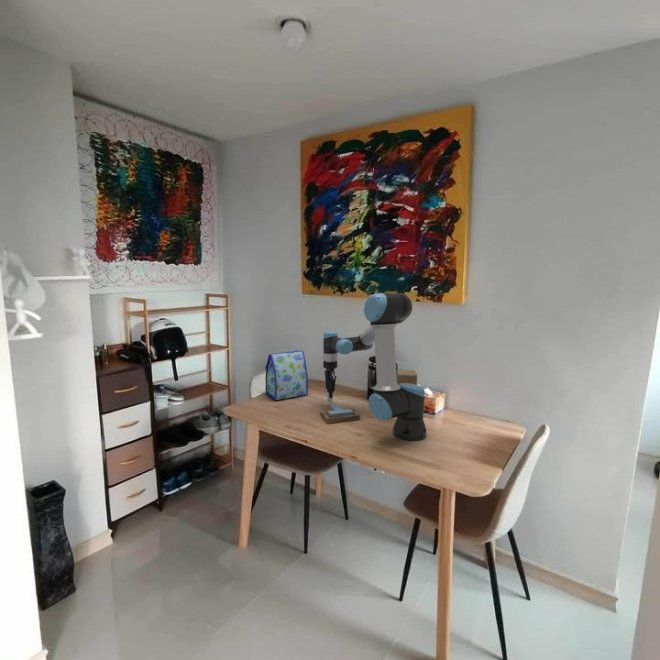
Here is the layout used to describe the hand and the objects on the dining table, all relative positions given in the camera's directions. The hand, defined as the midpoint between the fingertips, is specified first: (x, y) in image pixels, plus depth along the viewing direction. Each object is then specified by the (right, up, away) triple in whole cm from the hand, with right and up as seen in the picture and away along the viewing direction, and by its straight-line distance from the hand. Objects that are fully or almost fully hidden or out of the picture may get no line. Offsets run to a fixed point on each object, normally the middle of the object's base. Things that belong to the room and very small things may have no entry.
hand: (329, 402), depth 209 cm
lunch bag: (-26, +1, +19) cm, 32 cm away
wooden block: (+41, -3, +1) cm, 41 cm away
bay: (+5, -5, -13) cm, 15 cm away
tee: (+4, -4, -10) cm, 12 cm away
